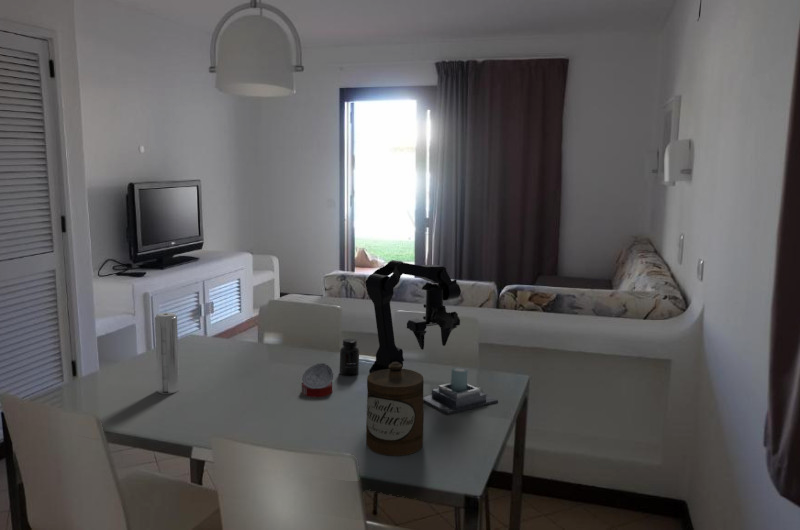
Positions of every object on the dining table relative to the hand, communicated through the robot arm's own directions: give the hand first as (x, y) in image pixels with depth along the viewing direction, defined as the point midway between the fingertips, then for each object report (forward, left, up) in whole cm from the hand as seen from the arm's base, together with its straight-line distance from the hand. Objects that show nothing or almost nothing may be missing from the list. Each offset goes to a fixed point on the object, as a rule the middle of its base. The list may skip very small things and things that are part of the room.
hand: (433, 347), depth 207 cm
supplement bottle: (-20, +22, -12) cm, 32 cm away
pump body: (-4, -19, -9) cm, 21 cm away
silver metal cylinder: (-78, +36, -12) cm, 87 cm away
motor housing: (-4, -19, -12) cm, 23 cm away
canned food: (-38, +11, -12) cm, 41 cm away
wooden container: (-38, -34, -12) cm, 52 cm away
